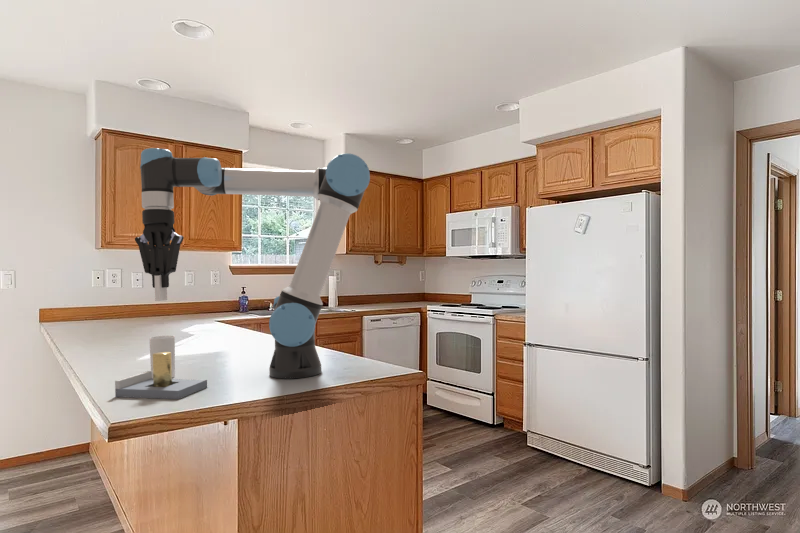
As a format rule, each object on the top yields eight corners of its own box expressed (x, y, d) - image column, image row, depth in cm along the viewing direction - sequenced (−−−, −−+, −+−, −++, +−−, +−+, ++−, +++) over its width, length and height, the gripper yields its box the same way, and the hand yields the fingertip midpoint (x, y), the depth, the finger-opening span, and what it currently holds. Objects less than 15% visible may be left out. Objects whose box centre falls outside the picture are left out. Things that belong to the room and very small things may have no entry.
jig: (207, 387, 136) (206, 372, 136) (178, 399, 125) (178, 382, 125) (148, 385, 140) (148, 371, 140) (115, 396, 128) (115, 380, 128)
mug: (170, 379, 147) (169, 338, 147) (146, 380, 146) (145, 339, 146) (182, 372, 157) (181, 333, 157) (160, 373, 156) (159, 334, 156)
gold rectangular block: (175, 390, 134) (174, 352, 134) (164, 394, 130) (163, 355, 130) (161, 389, 135) (160, 351, 135) (149, 393, 131) (148, 354, 131)
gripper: (189, 209, 135) (192, 299, 135) (146, 212, 137) (149, 299, 137) (171, 206, 127) (174, 301, 127) (125, 209, 130) (129, 302, 130)
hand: (161, 300), depth 132 cm, fingers closed
